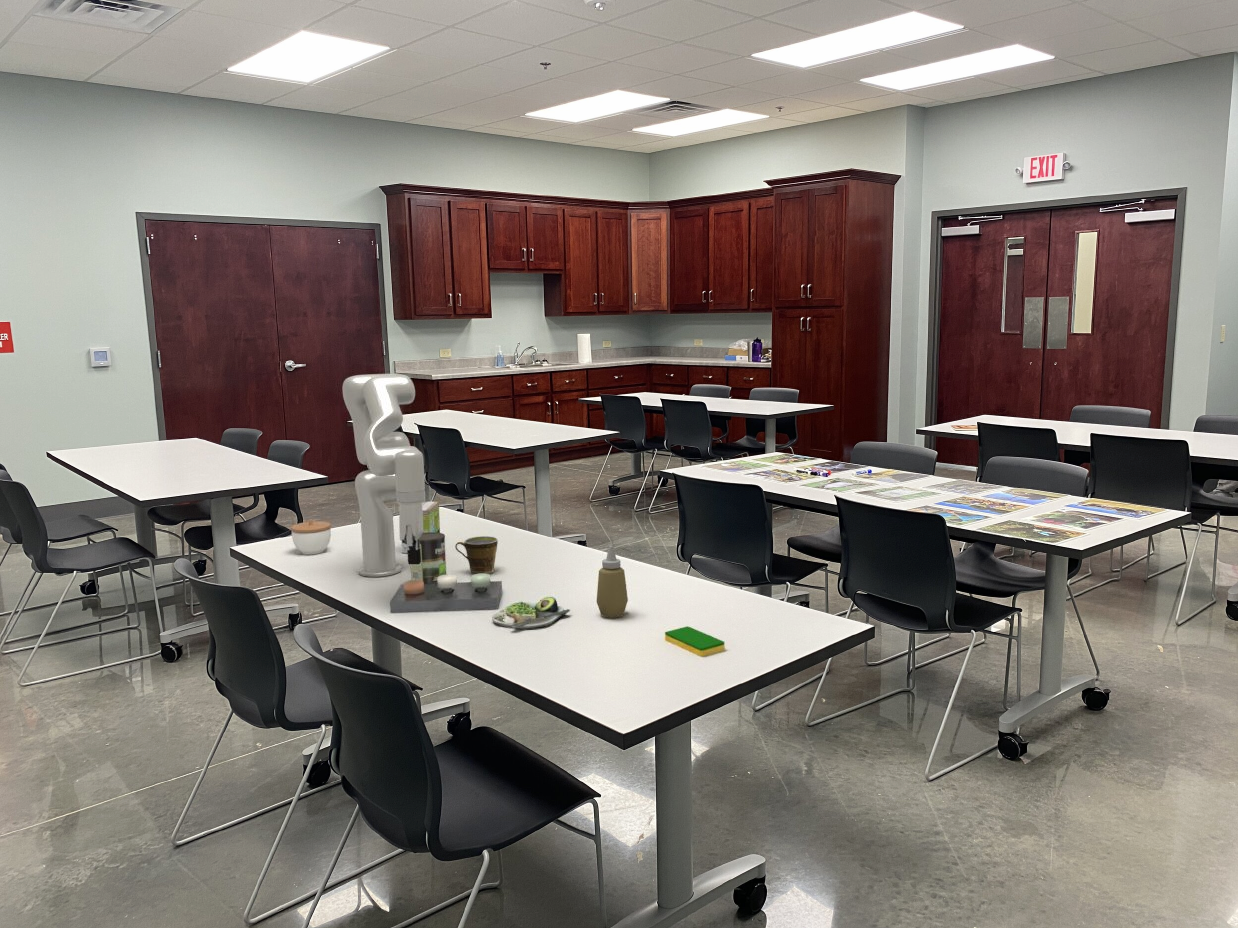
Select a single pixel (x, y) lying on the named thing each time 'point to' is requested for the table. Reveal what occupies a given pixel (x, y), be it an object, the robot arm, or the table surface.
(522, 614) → the avocado toast plate
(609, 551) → the squeeze bottle
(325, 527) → the lidded bowl
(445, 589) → the button cream
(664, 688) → the table surface
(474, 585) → the button sage
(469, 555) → the ceramic cup
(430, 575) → the coffee can
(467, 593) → the panel
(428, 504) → the tea box
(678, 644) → the dish sponge
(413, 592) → the brown egg
